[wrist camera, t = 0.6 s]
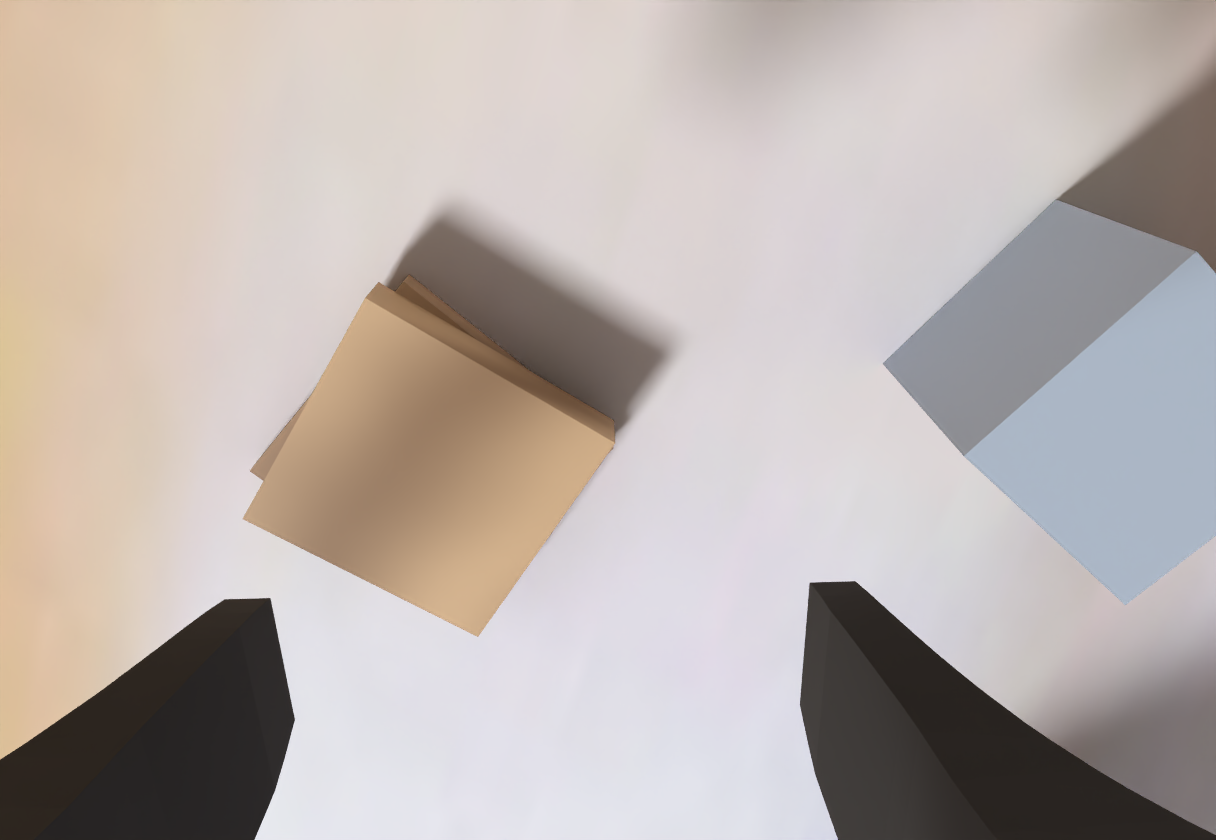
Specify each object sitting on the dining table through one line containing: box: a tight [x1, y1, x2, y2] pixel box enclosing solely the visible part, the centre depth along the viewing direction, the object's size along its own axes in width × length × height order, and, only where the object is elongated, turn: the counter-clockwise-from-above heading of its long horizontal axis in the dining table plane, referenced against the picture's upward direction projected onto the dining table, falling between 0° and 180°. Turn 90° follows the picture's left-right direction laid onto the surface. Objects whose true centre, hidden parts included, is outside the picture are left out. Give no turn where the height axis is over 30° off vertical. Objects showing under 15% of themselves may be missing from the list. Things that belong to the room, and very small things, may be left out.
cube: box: [883, 200, 1216, 605], centre depth 19 cm, size 5×5×5 cm
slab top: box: [243, 282, 615, 637], centre depth 20 cm, size 6×6×1 cm
